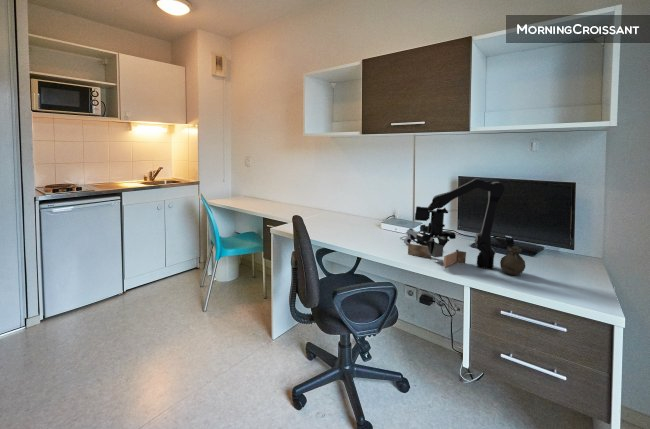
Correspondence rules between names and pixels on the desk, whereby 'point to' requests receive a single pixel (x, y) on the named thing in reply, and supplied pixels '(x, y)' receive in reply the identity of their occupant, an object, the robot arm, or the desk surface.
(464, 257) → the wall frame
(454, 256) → the door
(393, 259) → the desk surface
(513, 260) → the drawstring pouch
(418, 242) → the toy gun
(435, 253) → the block
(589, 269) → the desk surface
